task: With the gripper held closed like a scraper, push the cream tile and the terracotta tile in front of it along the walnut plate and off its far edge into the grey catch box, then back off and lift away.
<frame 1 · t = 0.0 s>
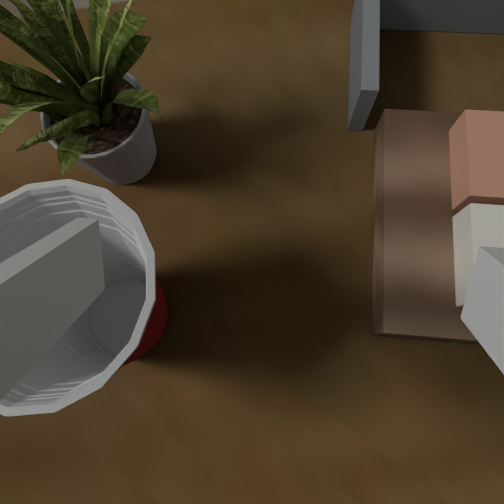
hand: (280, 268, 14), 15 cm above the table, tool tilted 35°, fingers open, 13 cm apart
walnut plate: (476, 233, 30), on the table
catch box: (467, 70, 34), on the table
house plant: (131, 141, 33), on the table
plastic cup: (127, 315, 30), on the table
terracotta tile: (495, 171, 28), point 3 cm above the table, touching walnut plate
cream tile: (501, 263, 26), point 3 cm above the table, touching walnut plate
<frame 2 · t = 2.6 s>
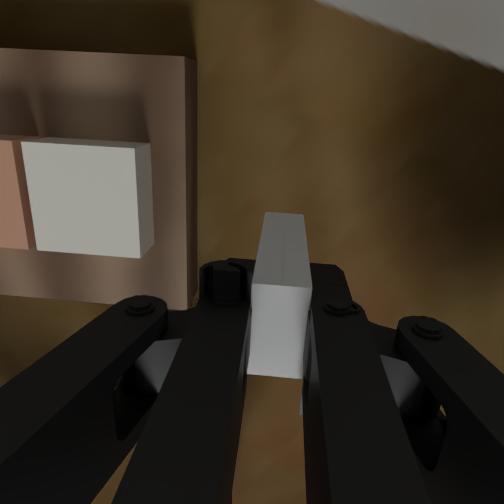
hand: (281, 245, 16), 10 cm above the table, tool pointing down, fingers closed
walnut plate: (78, 179, 27), on the table
cream tile: (102, 192, 24), point 3 cm above the table, touching walnut plate
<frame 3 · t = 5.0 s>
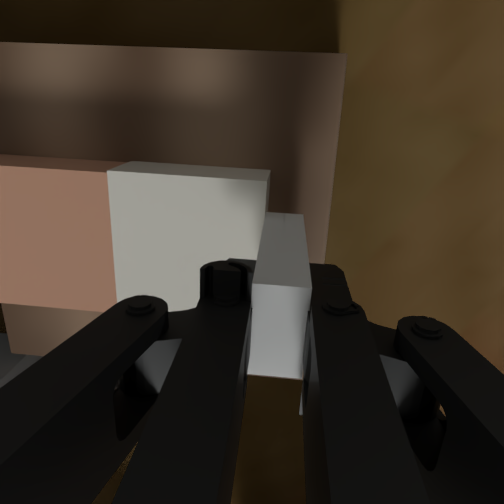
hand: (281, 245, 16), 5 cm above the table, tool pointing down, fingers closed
walnut plate: (168, 212, 21), on the table
terracotta tile: (71, 224, 19), point 3 cm above the table, touching cream tile
cream tile: (199, 232, 18), point 3 cm above the table, touching gripper, terracotta tile, walnut plate
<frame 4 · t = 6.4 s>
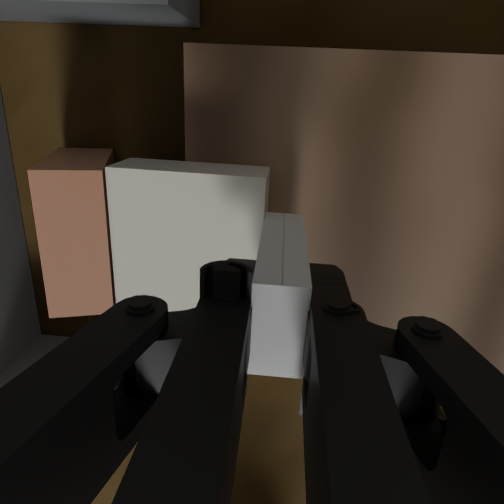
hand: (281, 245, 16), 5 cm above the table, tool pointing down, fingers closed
walnut plate: (356, 221, 21), on the table
catch box: (87, 203, 22), on the table
terracotta tile: (113, 223, 19), point 3 cm above the table, tilted 71°
cream tile: (199, 229, 18), point 3 cm above the table, touching walnut plate
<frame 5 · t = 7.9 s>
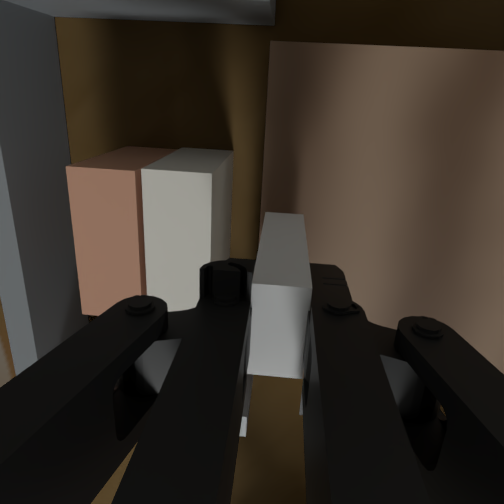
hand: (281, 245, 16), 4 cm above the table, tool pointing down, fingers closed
walnut plate: (425, 225, 20), on the table
catch box: (146, 205, 21), on the table
terracotta tile: (161, 226, 18), point 3 cm above the table, tilted 90°
cream tile: (222, 229, 18), point 3 cm above the table, tilted 90°
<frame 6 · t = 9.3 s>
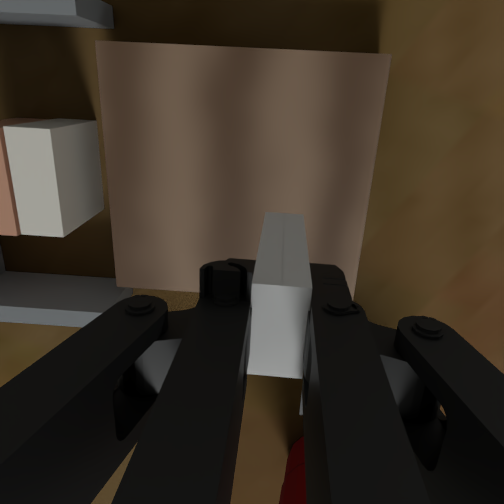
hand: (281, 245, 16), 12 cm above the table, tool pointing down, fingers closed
walnut plate: (241, 175, 28), on the table
catch box: (37, 163, 28), on the table
plastic cup: (319, 455, 37), on the table
terracotta tile: (37, 174, 25), point 3 cm above the table, tilted 90°
cream tile: (81, 175, 25), point 3 cm above the table, tilted 90°
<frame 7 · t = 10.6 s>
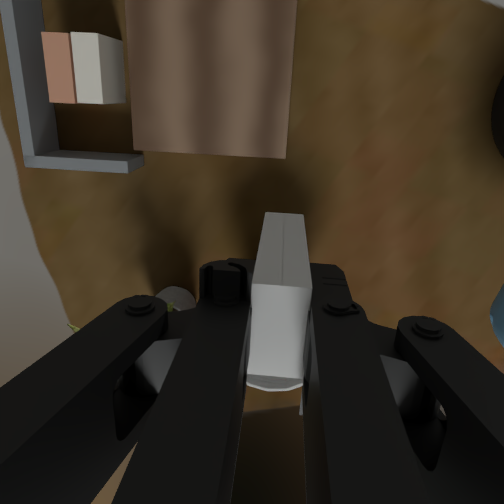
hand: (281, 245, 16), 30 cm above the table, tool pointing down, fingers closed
walnut plate: (214, 77, 43), on the table
catch box: (84, 71, 44), on the table
house plant: (166, 300, 53), on the table
plastic cup: (275, 295, 52), on the table
terracotta tile: (86, 71, 41), point 3 cm above the table, tilted 90°
cream tile: (113, 71, 41), point 3 cm above the table, tilted 90°
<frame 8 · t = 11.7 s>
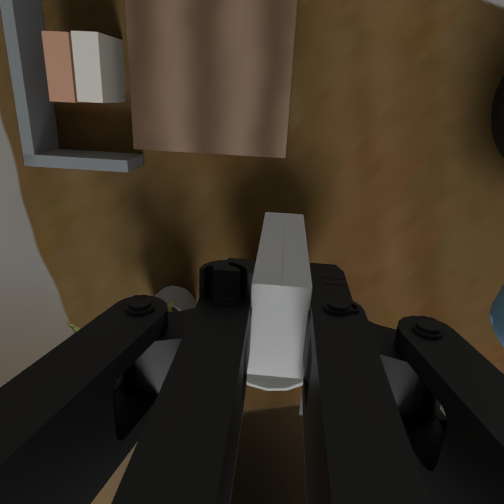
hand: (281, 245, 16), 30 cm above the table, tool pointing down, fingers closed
walnut plate: (214, 76, 43), on the table
catch box: (84, 70, 43), on the table
house plant: (166, 300, 53), on the table
plastic cup: (274, 295, 52), on the table
terracotta tile: (86, 70, 41), point 3 cm above the table, tilted 90°
cream tile: (113, 70, 41), point 3 cm above the table, tilted 90°
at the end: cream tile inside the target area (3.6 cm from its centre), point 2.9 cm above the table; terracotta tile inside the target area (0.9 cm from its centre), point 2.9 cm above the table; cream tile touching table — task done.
